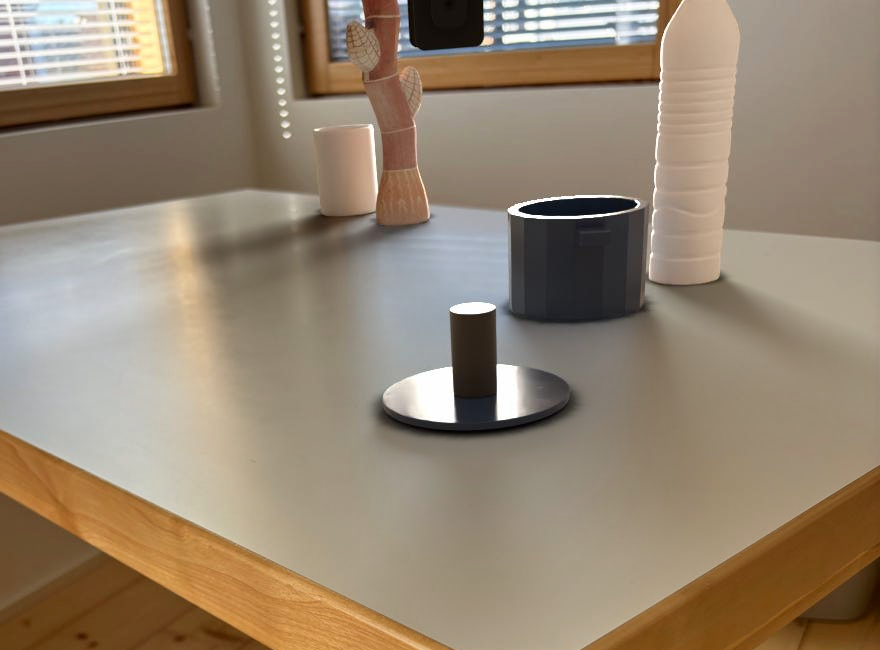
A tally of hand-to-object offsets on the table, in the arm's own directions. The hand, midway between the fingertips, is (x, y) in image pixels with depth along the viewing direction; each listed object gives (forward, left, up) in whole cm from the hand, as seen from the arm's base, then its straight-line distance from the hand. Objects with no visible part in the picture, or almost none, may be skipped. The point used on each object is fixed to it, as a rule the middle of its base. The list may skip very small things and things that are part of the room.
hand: (443, 46), depth 53 cm
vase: (+2, -87, -22) cm, 90 cm away
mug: (+9, -101, -22) cm, 104 cm away
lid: (-2, -7, -21) cm, 22 cm away
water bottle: (-25, -41, -22) cm, 53 cm away
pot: (-13, -32, -22) cm, 41 cm away
